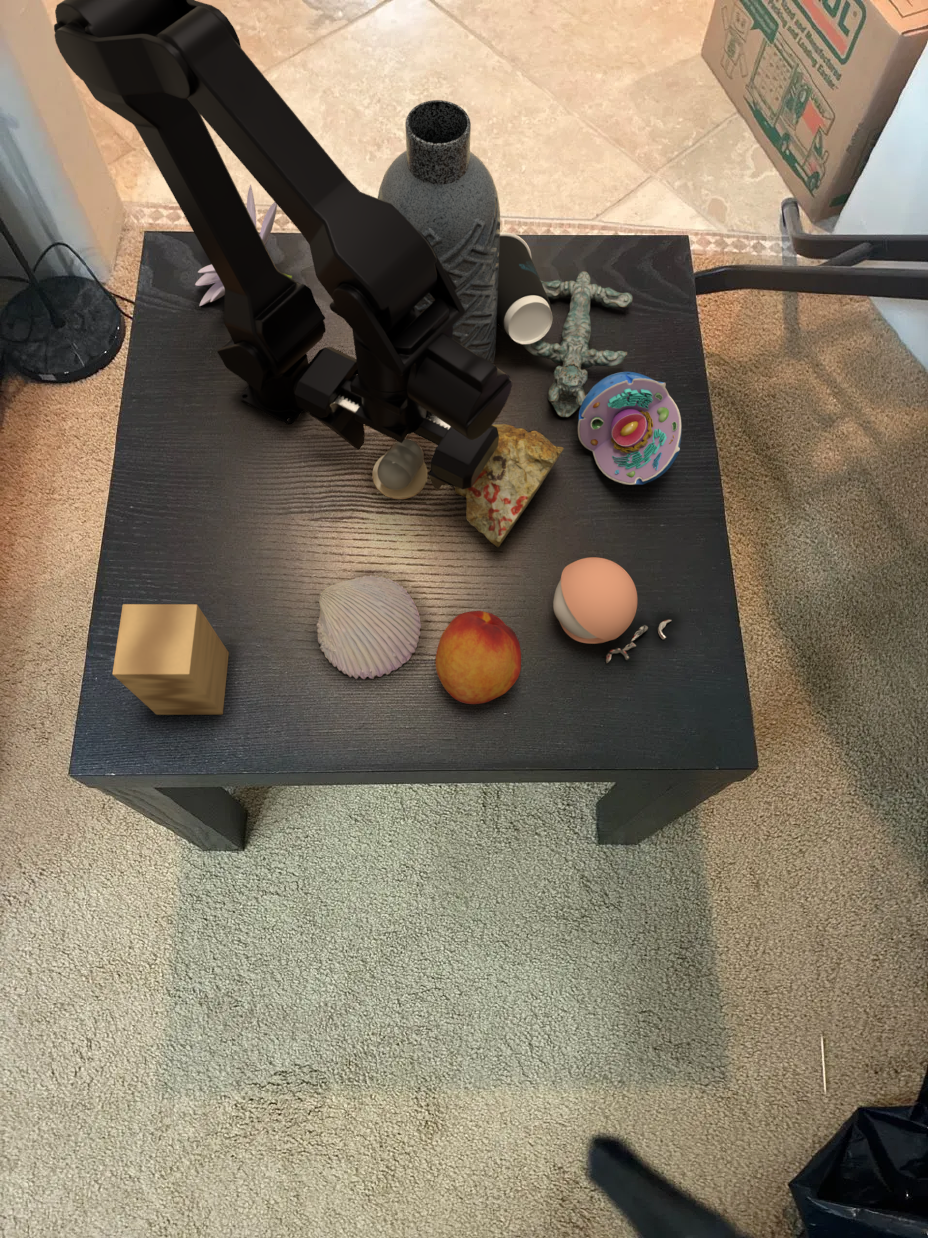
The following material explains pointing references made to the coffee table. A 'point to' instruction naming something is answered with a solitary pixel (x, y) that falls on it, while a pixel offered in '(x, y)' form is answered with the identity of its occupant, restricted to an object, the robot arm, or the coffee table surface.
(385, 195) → the vase
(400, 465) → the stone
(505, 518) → the rock
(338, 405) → the robot arm
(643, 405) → the cell model
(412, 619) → the seashell
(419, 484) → the coaster
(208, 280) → the water lily
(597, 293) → the sculpture
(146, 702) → the stand
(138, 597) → the coffee table surface
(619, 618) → the toy ball
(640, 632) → the toy
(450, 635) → the fruit
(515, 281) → the dixie cup
